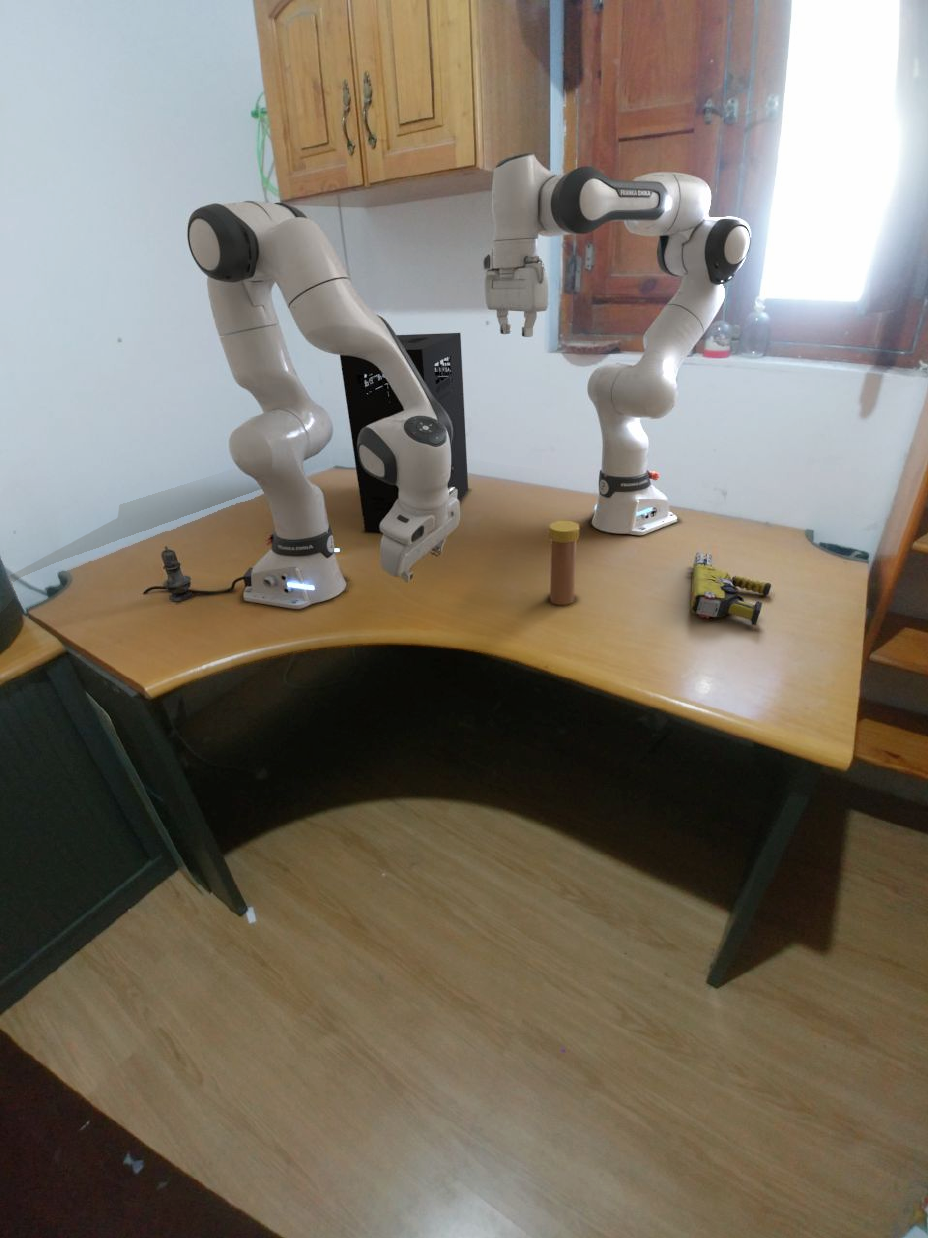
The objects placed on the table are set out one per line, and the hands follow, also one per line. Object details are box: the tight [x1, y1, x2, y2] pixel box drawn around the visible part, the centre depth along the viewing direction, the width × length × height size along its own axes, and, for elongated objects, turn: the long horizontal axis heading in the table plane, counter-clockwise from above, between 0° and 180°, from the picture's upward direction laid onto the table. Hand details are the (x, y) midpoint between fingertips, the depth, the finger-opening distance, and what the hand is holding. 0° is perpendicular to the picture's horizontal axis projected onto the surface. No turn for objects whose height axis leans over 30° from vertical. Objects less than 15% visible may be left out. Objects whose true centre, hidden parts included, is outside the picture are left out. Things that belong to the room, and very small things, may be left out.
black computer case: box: [339, 332, 469, 533], centre depth 166 cm, size 38×20×45 cm, turn 167°
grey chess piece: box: [160, 546, 195, 602], centre depth 132 cm, size 6×6×12 cm
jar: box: [549, 539, 577, 606], centre depth 121 cm, size 5×5×16 cm
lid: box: [548, 520, 580, 543], centre depth 118 cm, size 6×6×2 cm
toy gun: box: [690, 551, 772, 626], centre depth 121 cm, size 5×24×15 cm
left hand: (421, 566), depth 117 cm, fingers open, 8 cm apart
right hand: (516, 335), depth 125 cm, fingers open, 8 cm apart
